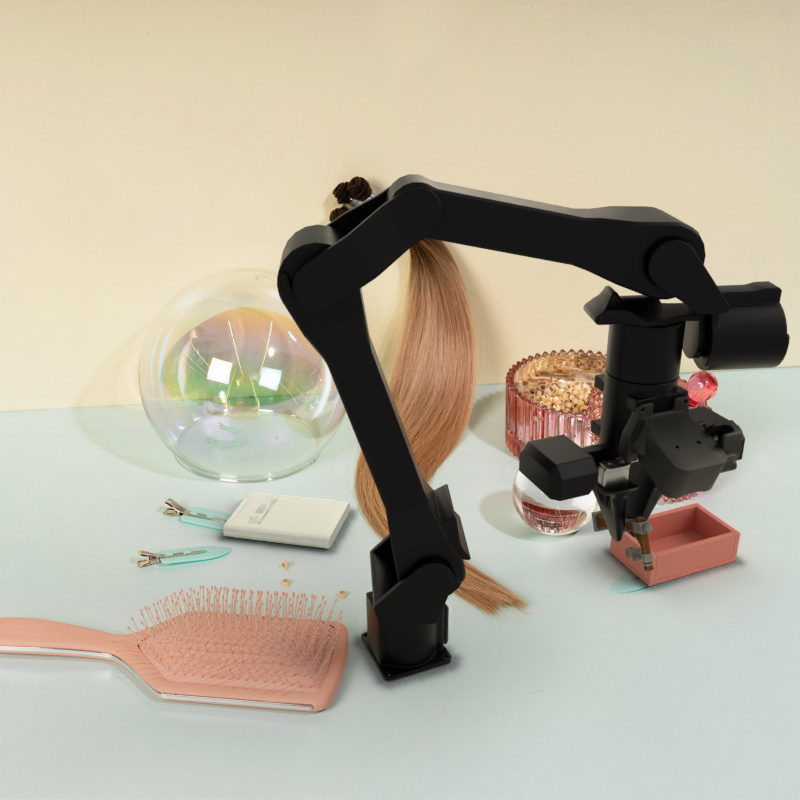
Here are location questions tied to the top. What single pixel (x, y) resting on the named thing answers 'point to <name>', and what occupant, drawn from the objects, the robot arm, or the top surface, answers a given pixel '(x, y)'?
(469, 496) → the top surface
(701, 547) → the tray
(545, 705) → the top surface
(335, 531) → the hard drive
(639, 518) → the wooden post with brackets
